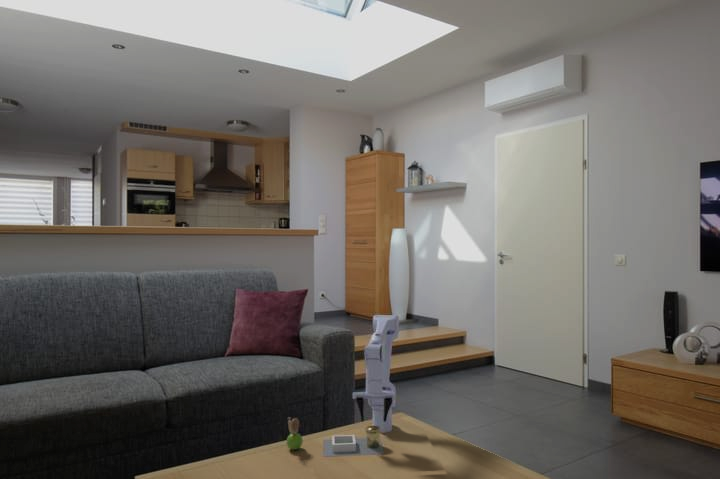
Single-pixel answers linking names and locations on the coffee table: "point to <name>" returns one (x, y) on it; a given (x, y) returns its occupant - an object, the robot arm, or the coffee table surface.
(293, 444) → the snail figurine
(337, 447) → the fitting board
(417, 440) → the coffee table surface
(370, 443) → the brass door knob
